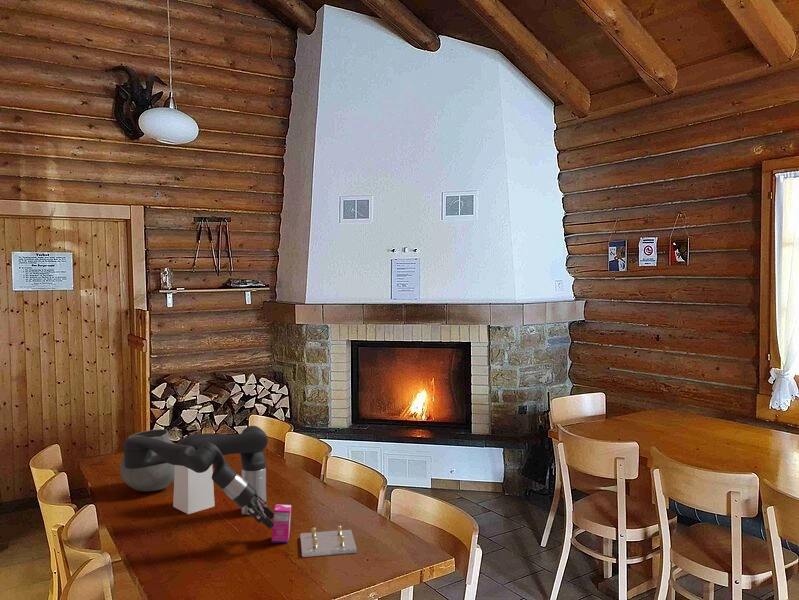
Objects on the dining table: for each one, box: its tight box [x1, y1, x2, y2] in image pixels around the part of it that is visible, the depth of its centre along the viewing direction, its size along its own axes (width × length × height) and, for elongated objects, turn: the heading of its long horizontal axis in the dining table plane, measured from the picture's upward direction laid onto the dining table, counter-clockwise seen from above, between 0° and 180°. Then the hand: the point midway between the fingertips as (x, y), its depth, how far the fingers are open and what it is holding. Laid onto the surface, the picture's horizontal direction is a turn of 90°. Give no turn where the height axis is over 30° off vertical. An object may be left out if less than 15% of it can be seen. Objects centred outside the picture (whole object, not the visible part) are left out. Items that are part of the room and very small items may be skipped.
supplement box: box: [271, 503, 292, 544], centre depth 217 cm, size 6×6×12 cm
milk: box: [172, 464, 216, 515], centre depth 250 cm, size 12×12×26 cm
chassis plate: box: [299, 524, 358, 558], centre depth 213 cm, size 18×16×4 cm
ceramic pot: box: [119, 428, 175, 492], centre depth 270 cm, size 24×24×25 cm
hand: (272, 521), depth 215 cm, fingers open, 8 cm apart
